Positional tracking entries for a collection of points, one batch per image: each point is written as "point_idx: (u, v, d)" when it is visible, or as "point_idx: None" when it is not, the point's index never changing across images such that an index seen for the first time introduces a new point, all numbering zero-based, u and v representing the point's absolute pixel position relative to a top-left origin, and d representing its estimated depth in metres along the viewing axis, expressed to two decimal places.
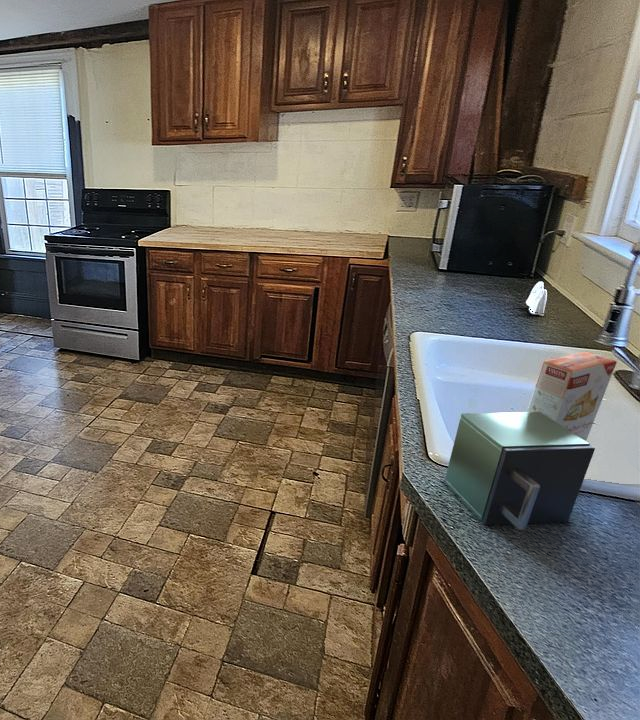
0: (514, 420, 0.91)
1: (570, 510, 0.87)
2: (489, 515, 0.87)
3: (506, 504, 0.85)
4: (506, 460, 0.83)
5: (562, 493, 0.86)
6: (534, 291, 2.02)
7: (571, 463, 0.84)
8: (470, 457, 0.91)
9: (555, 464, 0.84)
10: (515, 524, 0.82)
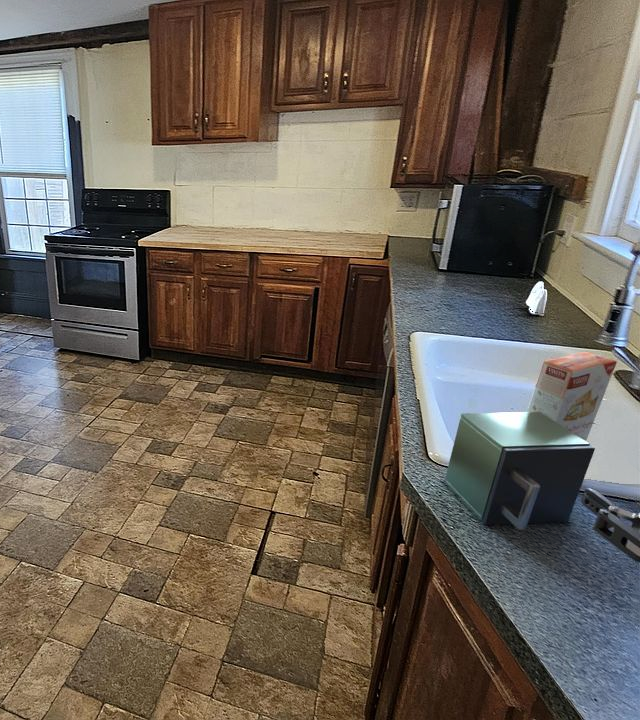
0: (514, 420, 0.91)
1: (570, 510, 0.87)
2: (489, 515, 0.87)
3: (506, 504, 0.85)
4: (506, 460, 0.83)
5: (562, 493, 0.86)
6: (534, 291, 2.02)
7: (571, 463, 0.84)
8: (470, 457, 0.91)
9: (555, 464, 0.84)
10: (515, 524, 0.82)
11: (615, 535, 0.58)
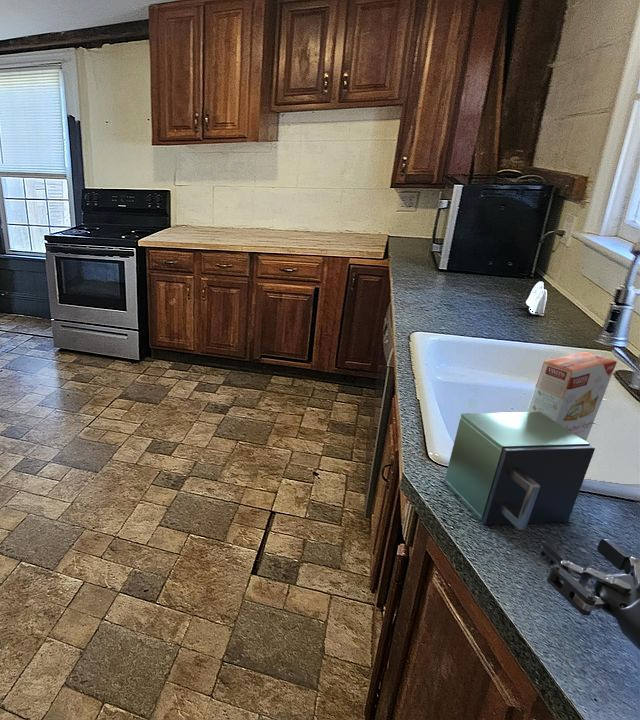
0: (514, 420, 0.91)
1: (570, 510, 0.87)
2: (489, 515, 0.87)
3: (506, 504, 0.85)
4: (506, 460, 0.83)
5: (562, 493, 0.86)
6: (534, 291, 2.02)
7: (571, 463, 0.84)
8: (470, 457, 0.91)
9: (555, 464, 0.84)
10: (515, 524, 0.82)
11: (565, 589, 0.66)
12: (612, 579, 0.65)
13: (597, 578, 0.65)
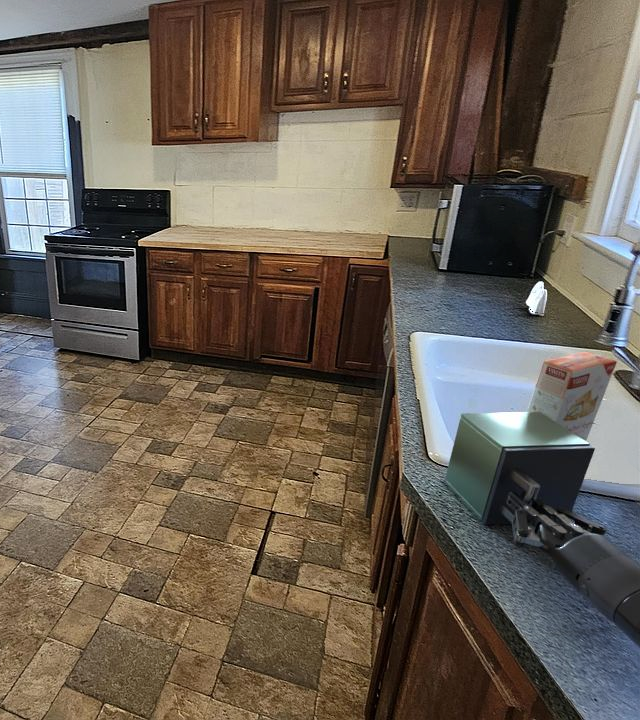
0: (514, 420, 0.91)
1: (570, 510, 0.87)
2: (489, 515, 0.87)
3: (506, 504, 0.85)
4: (506, 460, 0.83)
5: (562, 493, 0.86)
6: (534, 291, 2.02)
7: (571, 463, 0.84)
8: (470, 457, 0.91)
9: (555, 464, 0.84)
10: None
11: (514, 525, 0.77)
12: (555, 525, 0.74)
13: (542, 521, 0.75)
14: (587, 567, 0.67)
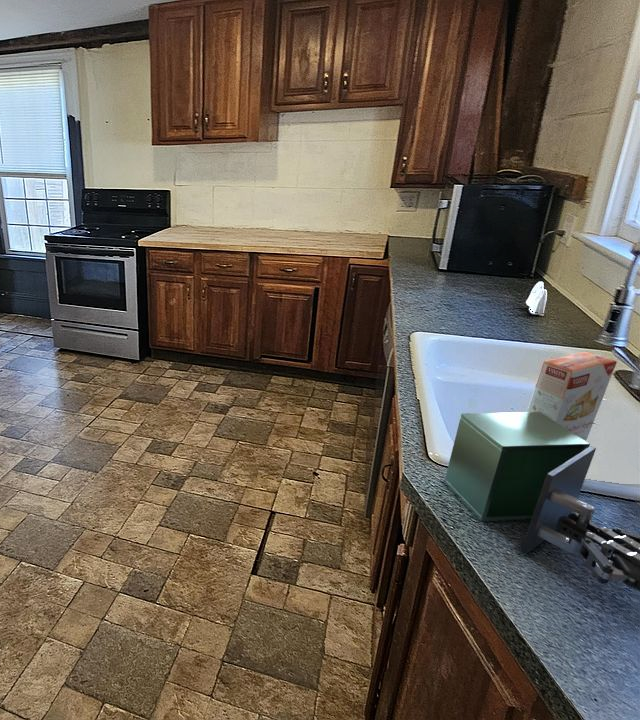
0: (514, 420, 0.91)
1: (572, 510, 0.87)
2: (530, 544, 0.81)
3: (545, 528, 0.80)
4: (550, 485, 0.77)
5: None
6: (534, 291, 2.02)
7: (582, 468, 0.82)
8: (470, 457, 0.91)
9: (574, 474, 0.81)
10: (568, 550, 0.77)
11: (589, 559, 0.70)
12: (631, 552, 0.69)
13: (615, 549, 0.70)
14: None
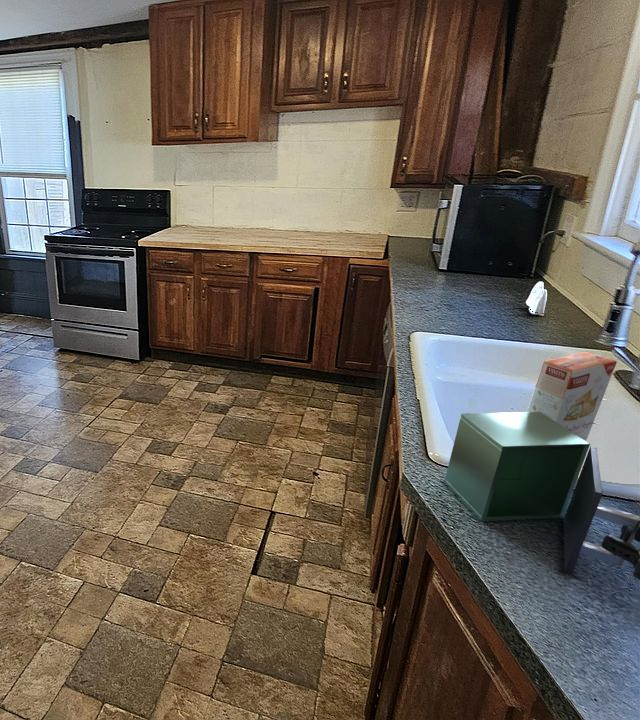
0: (514, 420, 0.91)
1: None
2: None
3: (585, 543, 0.77)
4: None
5: None
6: (534, 291, 2.02)
7: None
8: (470, 457, 0.91)
9: None
10: (614, 562, 0.75)
11: None
12: None
13: None
14: None
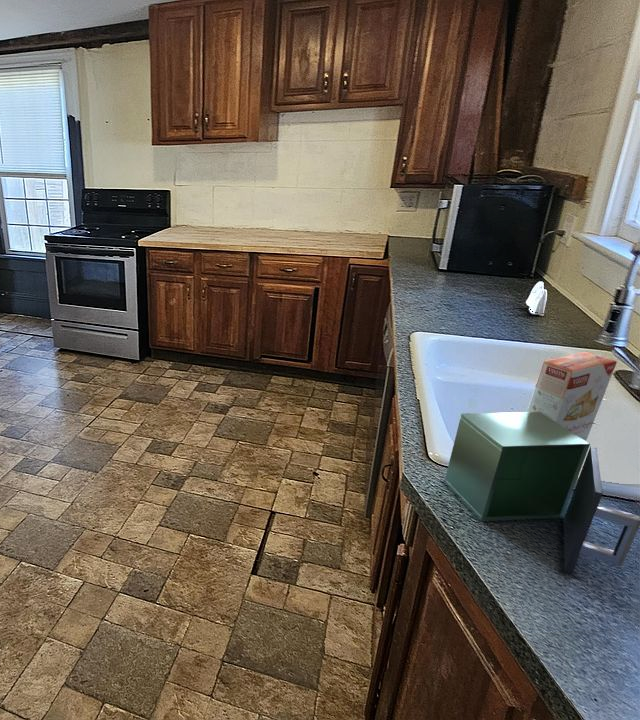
0: (514, 420, 0.91)
1: None
2: None
3: (585, 543, 0.77)
4: None
5: None
6: (534, 291, 2.02)
7: None
8: (470, 457, 0.91)
9: None
10: (614, 562, 0.75)
11: None
12: None
13: None
14: None
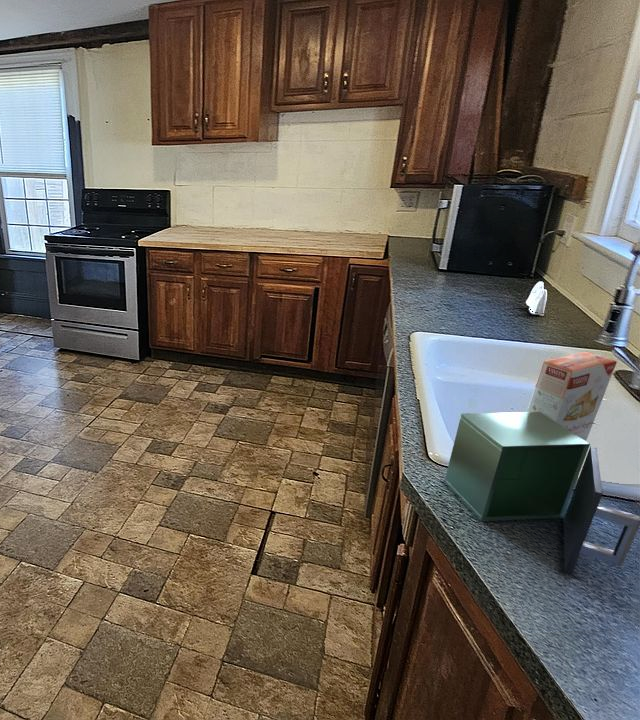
0: (514, 420, 0.91)
1: None
2: None
3: (585, 543, 0.77)
4: None
5: None
6: (534, 291, 2.02)
7: None
8: (470, 457, 0.91)
9: None
10: (614, 562, 0.75)
11: None
12: None
13: None
14: None
